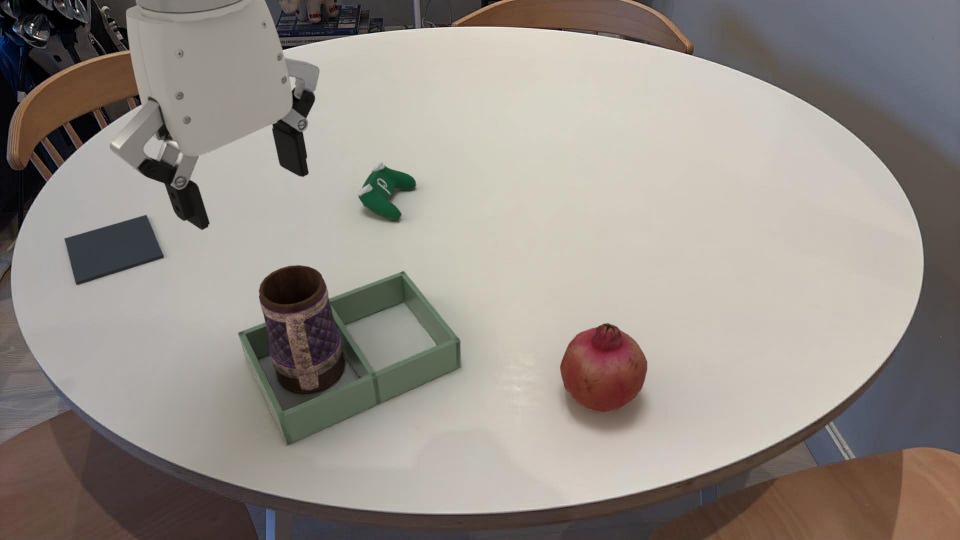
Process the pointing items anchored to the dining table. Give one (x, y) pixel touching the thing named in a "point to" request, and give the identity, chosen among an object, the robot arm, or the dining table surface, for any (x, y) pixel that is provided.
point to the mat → (112, 249)
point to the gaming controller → (384, 190)
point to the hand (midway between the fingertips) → (247, 195)
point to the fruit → (603, 368)
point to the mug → (301, 329)
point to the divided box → (360, 359)
